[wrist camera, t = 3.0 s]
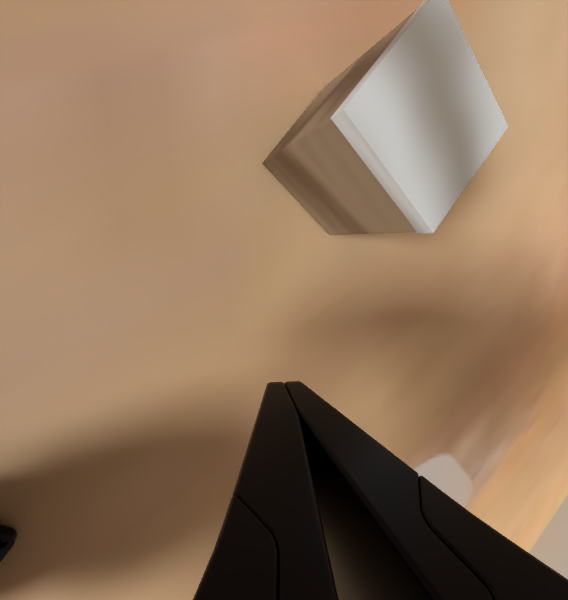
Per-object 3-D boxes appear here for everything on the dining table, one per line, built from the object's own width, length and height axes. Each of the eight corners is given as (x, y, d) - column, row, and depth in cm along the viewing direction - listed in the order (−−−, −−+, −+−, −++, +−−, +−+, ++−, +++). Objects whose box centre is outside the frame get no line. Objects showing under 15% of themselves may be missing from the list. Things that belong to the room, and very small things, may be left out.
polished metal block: (329, 235, 20) (433, 233, 13) (260, 163, 18) (343, 109, 10) (382, 165, 21) (508, 126, 14) (323, 86, 18) (441, -14, 11)
